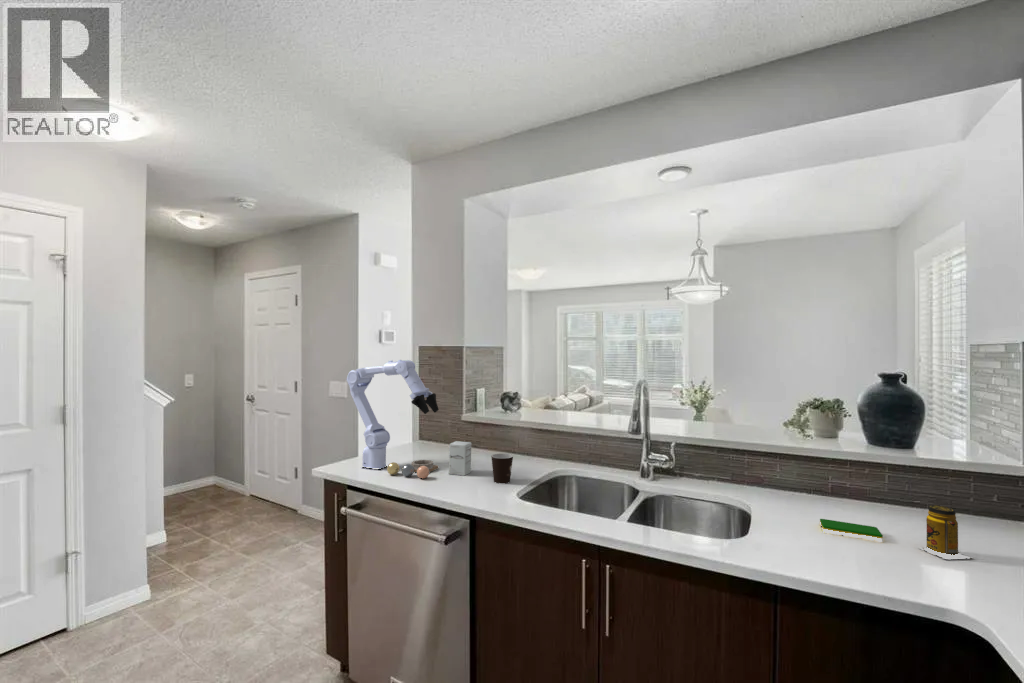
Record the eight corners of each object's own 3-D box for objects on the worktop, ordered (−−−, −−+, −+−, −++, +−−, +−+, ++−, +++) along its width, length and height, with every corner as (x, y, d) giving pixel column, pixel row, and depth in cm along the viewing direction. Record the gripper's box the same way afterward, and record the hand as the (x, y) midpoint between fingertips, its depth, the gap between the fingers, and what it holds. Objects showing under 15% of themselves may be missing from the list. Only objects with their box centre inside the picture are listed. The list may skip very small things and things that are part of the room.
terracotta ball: (414, 479, 180) (414, 466, 180) (420, 476, 185) (421, 463, 185) (425, 480, 179) (425, 468, 179) (431, 477, 183) (431, 465, 183)
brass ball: (384, 475, 185) (384, 463, 185) (391, 472, 190) (391, 460, 190) (394, 476, 183) (395, 464, 183) (401, 473, 188) (402, 461, 188)
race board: (405, 471, 192) (405, 463, 192) (418, 465, 201) (418, 458, 201) (426, 474, 188) (426, 466, 188) (438, 468, 198) (438, 460, 198)
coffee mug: (503, 485, 173) (504, 459, 174) (486, 481, 179) (486, 456, 179) (521, 479, 183) (521, 454, 183) (504, 475, 188) (505, 451, 188)
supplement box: (448, 474, 188) (448, 443, 188) (455, 470, 195) (455, 440, 196) (464, 476, 186) (465, 445, 186) (471, 471, 193) (471, 441, 193)
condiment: (917, 548, 123) (917, 503, 123) (945, 547, 123) (945, 503, 124) (945, 561, 115) (945, 513, 116) (975, 560, 116) (975, 512, 116)
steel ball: (399, 477, 183) (399, 465, 183) (406, 474, 187) (406, 462, 187) (409, 478, 181) (410, 466, 181) (416, 475, 186) (416, 463, 186)
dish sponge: (819, 526, 139) (819, 518, 139) (876, 535, 132) (876, 526, 132) (822, 534, 132) (822, 525, 133) (882, 544, 126) (882, 535, 126)
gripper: (413, 379, 182) (429, 407, 179) (431, 379, 196) (447, 405, 192) (400, 389, 184) (417, 417, 181) (419, 388, 198) (435, 414, 194)
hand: (431, 411), depth 187 cm, fingers open, 7 cm apart
